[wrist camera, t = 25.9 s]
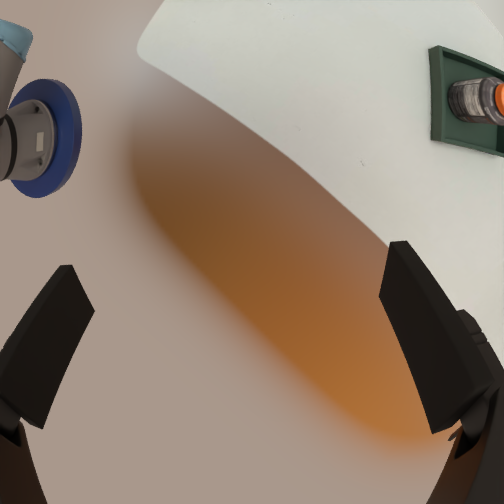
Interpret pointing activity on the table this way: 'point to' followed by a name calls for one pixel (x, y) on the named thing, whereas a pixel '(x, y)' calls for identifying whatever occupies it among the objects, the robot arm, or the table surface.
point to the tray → (442, 118)
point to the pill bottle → (478, 100)
